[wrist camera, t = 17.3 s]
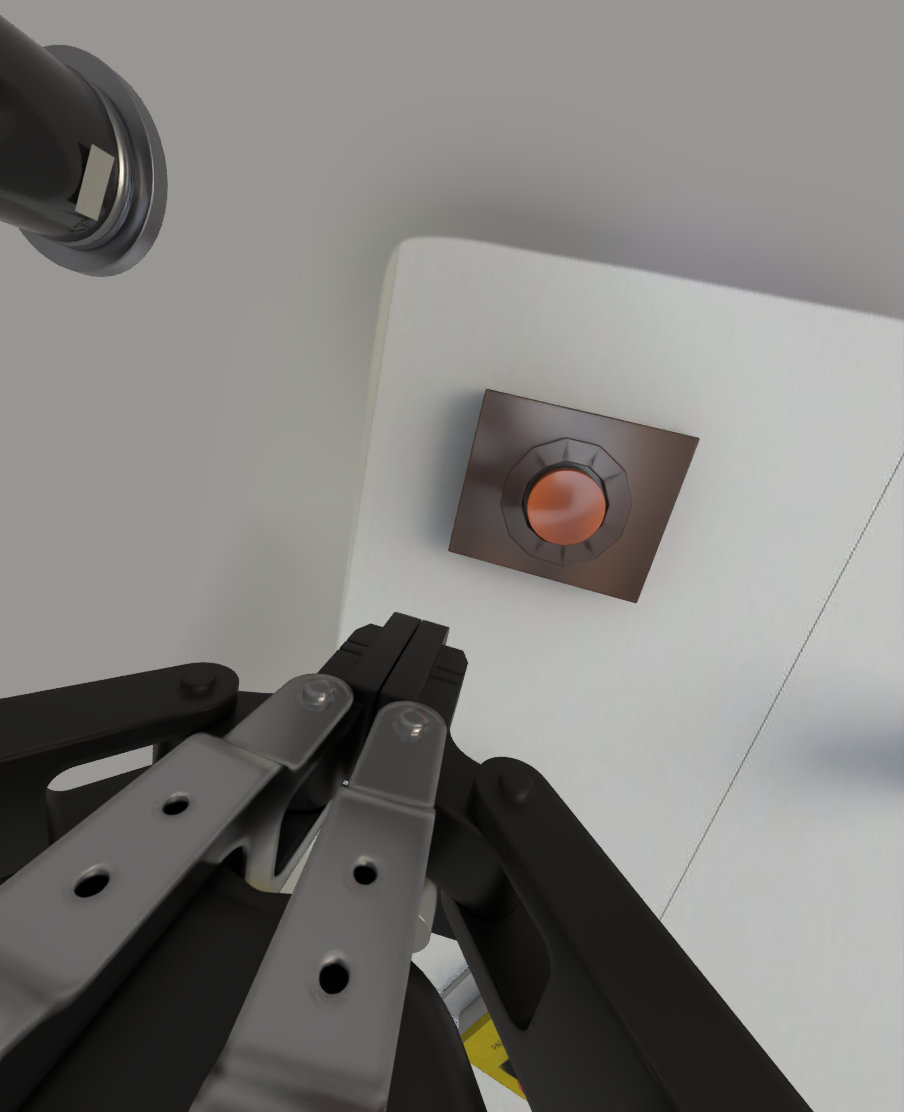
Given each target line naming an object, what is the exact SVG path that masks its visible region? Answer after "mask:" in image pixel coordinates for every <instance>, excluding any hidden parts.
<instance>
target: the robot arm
mask: <svg viewBox="0 0 904 1112" xmlns="http://www.w3.org/2000/svg"><path fill="white" fill-rule="evenodd" d="M134 182H135V169H134V159H133V153H132V148H131V144H130V140H129V137H128V134H127V131H126V128H125V126H124V123H123V121H122V119H121V117H120V115H119V113H118V112H117V110H116V108H115V107H114V105H113V104H112V102H111V101H110V100H109V98H108V97H107V96H106V95H105V94H104V93H103V91H102V90H101V89H100V88H98V87H97V86H96V85H95V84H94V83H93V82H91V81H90V80H89V79H87V78H86V77H85V76H83V75H82V74H81V73H79V72H78V71H76V70H75V69H74V68H72V67H70V66H69V65H67V64H65V63H63V62H61V61H60V60H59V59H57V58H56V57H55V56H53V55H52V54H51V53H49V52H48V51H47V50H45V49H44V48H43V47H41V46H40V45H39V44H37V43H36V42H35V41H33V40H32V39H31V38H30V37H28V36H27V35H26V34H25V33H23V32H22V31H21V30H19V29H18V28H17V27H15V26H14V25H13V24H11V23H10V22H9V21H7V20H6V19H5V18H3V17H2V16H1V15H0V221H3V222H6V223H8V224H11V225H14V226H16V227H19V228H21V229H24V230H27V231H29V232H32V233H35V234H37V235H39V236H41V237H43V238H44V239H47V240H49V241H51V242H54V243H57V244H59V245H62V246H65V247H68V248H71V249H77V250H86V249H92V248H96V247H98V246H101V245H103V244H104V243H106V242H107V241H109V240H110V239H111V238H112V237H113V236H114V235H115V234H116V233H117V232H118V231H119V229H120V228H121V226H122V225H123V223H124V221H125V219H126V217H127V215H128V212H129V210H130V206H131V203H132V198H133V192H134ZM448 633H449V627H446V626H443V625H439V624H436V623H433V622H429V621H426V620H423V621H422V620H421V619H419V618H415V617H412V616H408V615H405V614H401V613H398V612H394V613H393V615H392V616H391V617H390V619H389V620H388V621H387V623H386V624H385V625H384V626H383V627H381V626H377V625H374V624H368V625H366V626H364V627H361V628H359V629H356V630H355V631H354V632H353V633H352V635H351V636H350V637H349V638H348V639H347V642H346V641H345V642H344V644H343V645H342V646H341V647H340V649H339V650H337V651H336V653H335V654H334V655H333V656H332V657H331V658H330V659H329V660H328V662H327V663H326V664H325V665H324V666H323V667H322V668H321V669H320V671H319V672H318V673H317V674H305V675H301V676H298V677H295V678H293V679H291V680H289V681H288V682H287V683H286V684H284V685H283V686H282V687H281V688H280V689H279V690H277V691H276V692H275V693H257V692H256V693H255V692H245V691H238V688H239V678H238V676H237V674H236V673H235V672H234V671H233V670H232V669H230V668H228V667H226V666H223V665H220V664H215V663H206V662H201V663H191V664H184V665H179V666H174V667H168V668H163V669H158V670H152V671H147V672H142V673H136V674H131V675H126V676H120V677H115V678H110V679H104V680H99V681H94V682H88V683H83V684H78V685H73V686H67V687H61V688H56V689H51V690H45V691H40V692H35V693H29V694H25V695H19V696H13V697H9V698H3V699H0V1112H487V1110H486V1107H485V1104H484V1101H483V1098H482V1095H481V1092H480V1090H479V1087H478V1084H477V1081H476V1078H475V1075H474V1072H473V1070H472V1067H471V1064H470V1061H469V1058H468V1055H467V1053H466V1050H465V1047H464V1044H463V1041H462V1039H461V1036H460V1034H459V1031H458V1028H457V1026H456V1024H455V1022H454V1020H453V1018H452V1016H451V1014H450V1012H449V1010H448V1008H447V1006H446V1004H445V1003H444V1001H443V999H442V998H441V996H440V995H439V993H438V991H437V990H436V988H435V987H434V985H433V984H432V983H431V982H430V980H429V979H428V978H427V977H426V975H425V974H424V973H423V972H422V971H421V970H420V969H419V968H418V967H417V966H416V965H415V964H414V963H413V962H412V961H411V957H412V952H413V946H414V940H415V934H416V928H417V922H418V916H419V910H420V904H421V898H422V892H423V886H424V880H425V877H426V878H428V879H429V880H430V881H432V882H433V883H434V884H435V885H437V886H438V887H439V888H441V901H442V906H443V909H444V912H445V914H446V916H447V919H448V921H449V923H450V926H451V928H452V930H453V932H454V935H455V937H456V939H457V942H458V944H459V946H460V948H461V951H462V953H463V955H464V957H465V960H466V962H467V964H468V967H469V969H470V971H471V973H472V976H473V978H474V980H475V983H476V985H477V987H478V989H479V992H480V994H481V996H482V999H483V1001H484V1003H485V1005H486V1008H487V1010H488V1012H489V1014H490V1017H491V1019H492V1021H493V1024H494V1026H495V1028H496V1030H497V1033H498V1035H499V1037H500V1040H501V1042H502V1044H503V1046H504V1049H505V1051H506V1053H507V1055H508V1058H509V1060H510V1062H511V1065H512V1067H513V1069H514V1071H515V1074H516V1076H517V1078H518V1081H519V1083H520V1085H521V1087H522V1090H523V1092H524V1094H525V1096H526V1099H527V1101H528V1103H529V1106H530V1108H531V1110H532V1112H813V1110H812V1109H811V1108H810V1107H809V1105H808V1104H807V1103H806V1102H805V1101H804V1099H803V1098H802V1097H801V1096H800V1094H799V1093H798V1092H797V1091H796V1089H795V1088H794V1087H793V1086H792V1084H791V1083H790V1082H789V1081H788V1079H787V1078H786V1077H785V1076H784V1074H783V1073H782V1072H781V1071H780V1069H779V1068H778V1067H777V1066H776V1065H775V1063H774V1062H773V1061H772V1060H771V1058H770V1057H769V1056H768V1055H767V1053H766V1052H765V1051H764V1050H763V1048H762V1047H761V1046H760V1045H759V1043H758V1042H757V1041H756V1040H755V1038H754V1037H753V1036H752V1035H751V1033H750V1032H749V1031H748V1030H747V1029H746V1027H745V1026H744V1025H743V1024H742V1022H741V1021H740V1020H739V1019H738V1017H737V1016H736V1015H735V1014H734V1012H733V1011H732V1010H731V1009H730V1007H729V1006H728V1005H727V1004H726V1002H725V1001H724V1000H723V999H722V997H721V996H720V995H719V994H718V992H717V991H716V990H715V989H714V988H713V986H712V985H711V984H710V983H709V981H708V980H707V979H706V978H705V976H704V975H703V974H702V973H701V971H700V970H699V969H698V968H697V966H696V965H695V964H694V963H693V961H692V960H691V959H690V958H689V956H688V955H687V954H686V953H685V952H684V950H683V949H682V948H681V947H680V945H679V944H678V943H677V942H676V940H675V939H674V938H673V937H672V935H671V934H670V933H669V932H668V930H667V929H666V928H665V927H664V925H663V924H662V923H661V922H660V920H659V919H658V918H657V917H656V916H655V914H654V913H653V912H652V911H651V909H650V908H649V907H648V906H647V904H646V903H645V902H644V901H643V899H642V898H641V897H640V896H639V894H638V893H637V892H636V891H635V889H634V888H633V887H632V886H631V884H630V883H629V882H628V881H627V879H626V878H625V877H624V876H623V875H622V873H621V872H620V871H619V870H618V868H617V867H616V866H615V865H614V863H613V862H612V861H611V860H610V858H609V857H608V856H607V855H606V853H605V852H604V851H603V850H602V848H601V847H600V846H599V845H598V843H597V842H596V841H595V840H594V839H593V837H592V836H591V835H590V834H589V832H588V831H587V830H586V829H585V827H584V826H583V825H582V824H581V822H580V821H579V820H578V819H577V817H576V816H575V815H574V814H573V812H572V811H571V810H570V809H569V807H568V806H567V805H566V804H565V803H564V801H563V800H562V799H561V798H560V796H559V795H558V794H557V793H556V791H555V790H554V789H553V788H552V786H551V785H550V784H549V783H548V781H547V780H546V779H545V778H544V777H543V776H542V775H541V774H540V773H539V772H538V771H537V770H536V769H534V768H533V767H532V766H530V765H528V764H526V763H524V762H522V761H520V760H517V759H513V758H509V757H494V758H491V759H488V760H486V761H484V762H483V763H482V764H479V763H477V762H476V761H474V760H472V759H471V758H469V757H468V756H466V755H465V754H464V753H463V752H462V751H461V750H460V749H459V748H458V747H457V746H456V744H455V743H454V741H453V739H452V737H451V734H450V727H451V723H452V720H453V716H454V713H455V709H456V706H457V702H458V698H459V695H460V691H461V687H462V683H463V680H464V676H465V672H466V669H467V665H468V662H467V659H466V657H465V654H464V652H463V651H462V650H459V649H456V648H452V647H449V646H445V645H446V641H447V637H448ZM150 745H153V762H152V765H149V766H146V767H143V768H139V769H136V770H133V771H130V772H127V773H123V774H120V775H117V776H113V777H110V778H107V779H104V780H100V781H97V782H94V783H90V784H87V785H84V786H81V787H77V788H74V789H71V790H66V791H53V790H50V789H48V788H47V787H48V785H49V783H50V782H51V781H52V780H53V779H54V778H55V777H56V776H57V775H59V774H60V773H62V772H63V771H65V770H67V769H69V768H72V767H75V766H78V765H82V764H85V763H89V762H93V761H96V760H100V759H103V758H107V757H111V756H114V755H118V754H121V753H125V752H128V751H131V750H135V749H139V748H143V747H146V746H150ZM344 780H346V781H349V782H348V785H344V784H343V782H344ZM320 829H321V830H320ZM319 830H320V832H319ZM318 832H319V834H318V836H317V839H316V841H315V843H314V845H313V848H312V850H311V852H310V854H309V857H308V859H307V861H306V864H305V866H304V868H303V870H302V873H301V875H300V877H299V879H298V882H297V884H296V886H295V889H294V891H293V893H292V894H286V893H280V891H281V889H282V888H283V886H284V885H285V883H286V881H287V880H288V878H289V877H290V875H291V874H292V872H293V871H294V869H295V868H296V866H297V864H298V863H299V861H300V860H301V858H302V856H303V855H304V853H305V852H306V850H307V849H308V847H309V846H310V844H311V843H312V841H313V839H314V838H315V836H316V835H317V833H318Z"/></svg>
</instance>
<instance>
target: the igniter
mask: <svg viewBox="0 0 904 1112" xmlns="http://www.w3.org/2000/svg"><path fill="white" fill-rule="evenodd" d="M698 442H699V438H697V437H693V436H689V435H684V434H680V433H676V432H671V431H667V430H663V429H658V428H654V427H650V426H645V425H641V424H637V423H632V422H628V421H624V420H619V419H615V418H611V417H606V416H602V415H598V414H593V413H589V412H585V411H580V410H576V409H572V408H567V407H563V406H559V405H554V404H550V403H546V402H541V401H537V400H533V399H528V398H524V397H520V396H515V395H511V394H507V393H502V392H498V391H494V390H489V389H486V390H485V395H484V399H483V403H482V408H481V412H480V416H479V420H478V425H477V429H476V433H475V438H474V442H473V446H472V450H471V455H470V459H469V463H468V468H467V472H466V476H465V481H464V485H463V489H462V493H461V498H460V502H459V506H458V511H457V515H456V519H455V523H454V528H453V532H452V536H451V541H450V545H449V549H448V551H450V552H453V553H457V554H460V555H464V556H468V557H471V558H475V559H478V560H482V561H486V562H489V563H493V564H496V565H500V566H504V567H507V568H511V569H514V570H518V571H522V572H525V573H529V574H532V575H536V576H540V577H543V578H547V579H550V580H554V581H558V582H561V583H565V584H568V585H572V586H576V587H579V588H583V589H586V590H590V591H594V592H597V593H601V594H604V595H608V596H612V597H615V598H619V599H622V600H626V601H630V602H633V603H637V601H638V599H639V596H640V593H641V591H642V588H643V586H644V583H645V580H646V578H647V575H648V572H649V570H650V567H651V565H652V562H653V559H654V557H655V554H656V552H657V549H658V546H659V544H660V541H661V539H662V536H663V533H664V531H665V528H666V526H667V523H668V520H669V518H670V515H671V512H672V510H673V507H674V505H675V502H676V499H677V497H678V494H679V492H680V489H681V486H682V484H683V481H684V479H685V476H686V473H687V471H688V468H689V466H690V463H691V460H692V458H693V455H694V453H695V450H696V447H697V445H698ZM562 467H571V468H576V469H579V470H582V471H584V472H585V473H587V474H588V475H590V476H591V477H592V478H593V479H594V480H595V482H596V483H597V484H598V485H599V487H600V488H601V490H602V492H603V495H604V498H605V515H604V519H603V521H602V523H601V525H600V527H599V528H598V529H597V531H596V532H595V533H594V534H593V535H592V536H591V537H589V538H588V539H586V540H585V541H582V542H580V543H577V544H574V545H557V544H553V543H550V542H548V541H546V540H544V539H543V538H541V537H540V536H539V535H538V534H537V533H536V532H535V531H534V529H533V528H532V526H531V524H530V522H529V519H528V514H527V503H528V499H529V495H530V492H531V489H532V487H533V485H534V484H535V483H536V481H537V480H538V479H539V478H540V477H541V476H542V475H544V474H545V473H547V472H549V471H551V470H553V469H556V468H562Z"/></svg>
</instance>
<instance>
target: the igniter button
mask: <svg viewBox="0 0 904 1112" xmlns="http://www.w3.org/2000/svg"><path fill="white" fill-rule="evenodd" d="M527 514H528V519H529V522H530V524H531V526H532V528H533V529H534V531H535V532H536V533H537V534H538V535H539V536H540V537H541V538H543V539H544V540H546V541H548V542H550V543H553V544H557V545H574V544H577V543H580V542H582V541H585V540H586V539H588V538H589V537H591V536H592V535H593V534H594V533H595V532H596V531H597V529H598V528H599V527H600V525H601V523H602V521H603V519H604V515H605V498H604V495H603V492H602V490H601V488H600V487H599V485H598V484H597V483H596V482H595V480H594V479H593V478H592V477H591V476H590V475H588V474H587V473H585V472H584V471H582V470H579V469H576V468H571V467H562V468H556V469H553V470H551V471H549V472H547V473H545V474H544V475H542V476H541V477H540V478H539V479H538V480H537V481H536V483H535V484H534V485H533V487H532V489H531V492H530V495H529V499H528V503H527Z"/></svg>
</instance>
